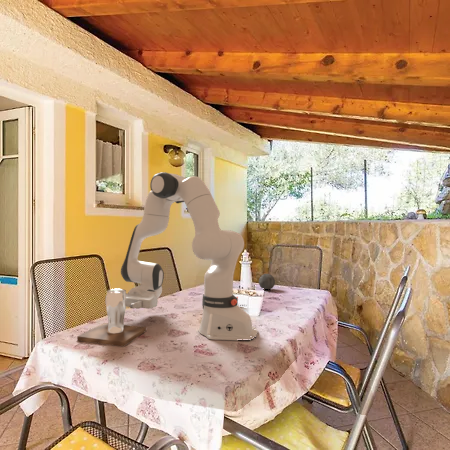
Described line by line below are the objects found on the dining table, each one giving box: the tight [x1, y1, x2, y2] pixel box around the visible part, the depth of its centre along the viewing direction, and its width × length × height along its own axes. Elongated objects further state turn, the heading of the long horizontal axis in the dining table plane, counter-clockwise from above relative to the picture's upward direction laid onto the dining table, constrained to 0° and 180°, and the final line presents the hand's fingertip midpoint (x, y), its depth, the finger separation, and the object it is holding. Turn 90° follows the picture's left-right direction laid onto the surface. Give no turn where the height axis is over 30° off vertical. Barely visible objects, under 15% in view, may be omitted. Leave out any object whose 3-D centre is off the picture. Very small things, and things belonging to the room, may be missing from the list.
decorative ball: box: [258, 273, 276, 290], centre depth 209 cm, size 10×10×10 cm
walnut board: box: [76, 322, 147, 347], centre depth 122 cm, size 18×16×2 cm
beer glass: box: [105, 288, 127, 335], centre depth 122 cm, size 7×7×15 cm
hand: (120, 305), depth 126 cm, fingers open, 8 cm apart
